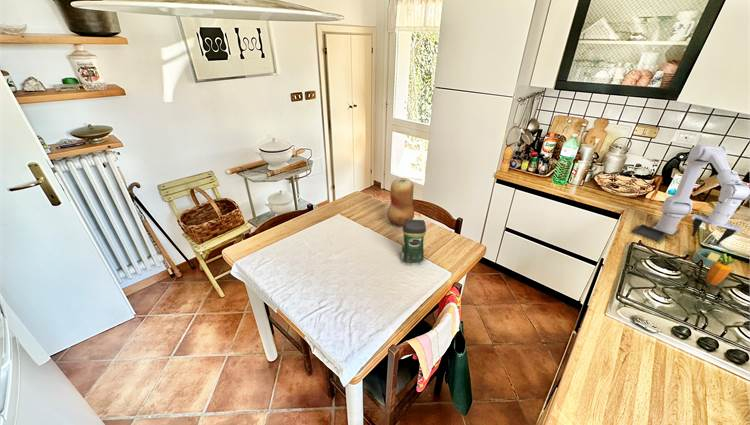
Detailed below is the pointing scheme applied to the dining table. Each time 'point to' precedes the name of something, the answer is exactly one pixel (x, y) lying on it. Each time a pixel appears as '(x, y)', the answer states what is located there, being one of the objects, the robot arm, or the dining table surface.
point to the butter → (713, 257)
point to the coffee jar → (413, 241)
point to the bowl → (705, 256)
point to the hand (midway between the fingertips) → (704, 239)
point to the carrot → (719, 270)
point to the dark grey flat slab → (649, 232)
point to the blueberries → (643, 320)
